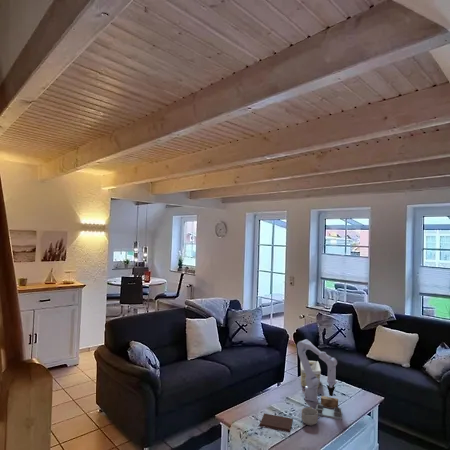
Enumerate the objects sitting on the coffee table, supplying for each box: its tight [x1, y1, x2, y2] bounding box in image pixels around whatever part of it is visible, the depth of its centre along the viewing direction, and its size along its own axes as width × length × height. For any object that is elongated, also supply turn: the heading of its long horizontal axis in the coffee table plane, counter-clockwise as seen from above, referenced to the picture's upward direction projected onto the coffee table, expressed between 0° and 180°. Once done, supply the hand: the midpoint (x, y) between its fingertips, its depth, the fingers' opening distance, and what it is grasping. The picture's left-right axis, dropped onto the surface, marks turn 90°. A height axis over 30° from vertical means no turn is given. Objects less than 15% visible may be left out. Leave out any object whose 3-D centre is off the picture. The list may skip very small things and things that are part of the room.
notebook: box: [259, 413, 294, 433], centre depth 232 cm, size 15×20×2 cm
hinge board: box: [315, 403, 343, 420], centre depth 246 cm, size 18×10×4 cm, turn 70°
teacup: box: [300, 406, 319, 426], centre depth 234 cm, size 14×11×8 cm
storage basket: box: [299, 360, 322, 389], centre depth 297 cm, size 24×16×15 cm
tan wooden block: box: [320, 395, 339, 410], centre depth 256 cm, size 12×4×6 cm, turn 69°
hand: (331, 393), depth 256 cm, fingers open, 7 cm apart
